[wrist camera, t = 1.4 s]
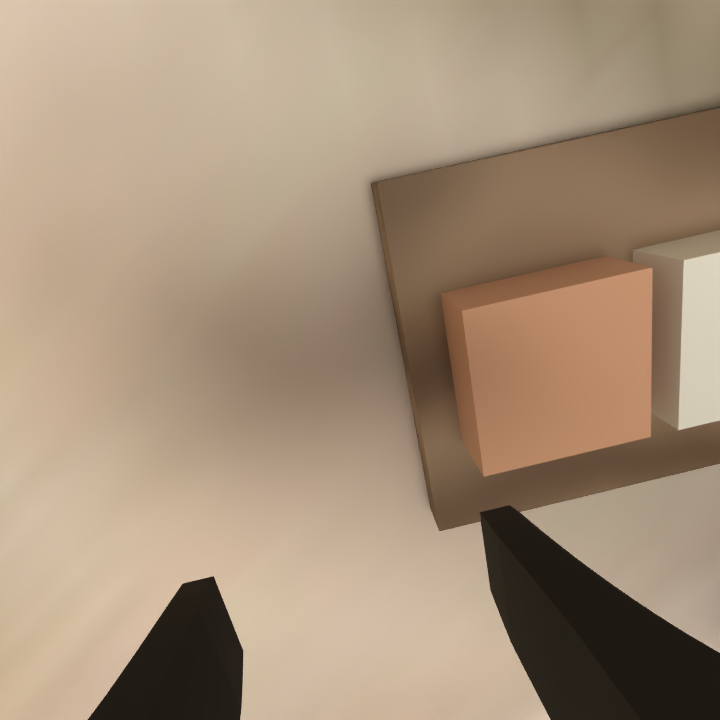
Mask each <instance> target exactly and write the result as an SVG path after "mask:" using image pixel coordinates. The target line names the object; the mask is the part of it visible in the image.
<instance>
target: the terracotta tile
mask: <svg viewBox="0 0 720 720" xmlns="http://www.w3.org/2000/svg"><path fill="white" fill-rule="evenodd" d="M440 294H441V301H442V308H443V315H444V321H445V328H446V335H447V342H448V349H449V356H450V362H451V369H452V376H453V383H454V390H455V396H456V403H457V410H458V417H459V424H460V430H461V437H462V442H463V443H464V445H465V447H466V448H467V450H468V452H469V453H470V455H471V456H472V458H473V460H474V461H475V463H476V465H477V466H478V468H479V470H480V471H481V473H482V474H483V476H484V477H485V476H489V475H493V474H497V473H501V472H506V471H510V470H514V469H518V468H522V467H527V466H531V465H535V464H539V463H543V462H548V461H552V460H556V459H560V458H564V457H569V456H573V455H577V454H581V453H585V452H589V451H594V450H598V449H602V448H606V447H610V446H615V445H619V444H623V443H627V442H631V441H636V440H640V439H644V438H648V437H651V369H652V267H649V266H644V265H640V264H636V263H632V262H628V261H624V260H620V259H616V258H612V257H608V256H603V257H599V258H595V259H590V260H586V261H581V262H577V263H572V264H568V265H564V266H559V267H555V268H550V269H546V270H541V271H537V272H533V273H528V274H524V275H519V276H515V277H511V278H506V279H502V280H497V281H493V282H488V283H484V284H480V285H475V286H471V287H466V288H462V289H457V290H453V291H449V292H444V293H440Z"/></svg>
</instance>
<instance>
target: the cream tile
mask: <svg viewBox="0 0 720 720" xmlns="http://www.w3.org/2000/svg"><path fill="white" fill-rule="evenodd" d="M633 263H636V264H640V265H644V266H649V267H652V369H651V413H653V414H654V415H656V416H657V417H659V418H660V419H662V420H663V421H665V422H667V423H668V424H670V425H671V426H673V427H674V428H676V429H677V430H682V429H686V428H690V427H694V426H698V425H703V424H707V423H711V422H715V421H719V420H720V230H718V231H714V232H710V233H705V234H701V235H696V236H692V237H687V238H683V239H679V240H674V241H670V242H665V243H661V244H657V245H652V246H648V247H643V248H639V249H634V250H633Z"/></svg>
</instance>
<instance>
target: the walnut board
mask: <svg viewBox="0 0 720 720" xmlns="http://www.w3.org/2000/svg"><path fill="white" fill-rule="evenodd" d="M371 185H372V191H373V196H374V202H375V207H376V213H377V218H378V224H379V229H380V235H381V240H382V245H383V251H384V256H385V262H386V267H387V273H388V278H389V284H390V289H391V295H392V300H393V306H394V311H395V316H396V322H397V327H398V333H399V338H400V344H401V349H402V355H403V360H404V366H405V371H406V377H407V382H408V387H409V393H410V398H411V404H412V409H413V415H414V420H415V426H416V431H417V437H418V442H419V447H420V453H421V458H422V464H423V469H424V475H425V480H426V486H427V491H428V497H429V502H430V508H431V511H432V513H433V516H434V519H435V521H436V524H437V526H438V529H439V531H442V530H446V529H451V528H455V527H459V526H463V525H467V524H471V523H475V522H480V521H481V518H480V512H483V511H487V510H491V509H495V508H499V507H504V506H508V505H510V506H512V507H513V508H515V509H516V510H517V511H519V512H521V511H525V510H529V509H533V508H538V507H542V506H546V505H550V504H554V503H558V502H562V501H567V500H571V499H575V498H579V497H583V496H587V495H591V494H596V493H600V492H604V491H608V490H612V489H616V488H620V487H625V486H629V485H633V484H637V483H641V482H645V481H649V480H654V479H658V478H662V477H666V476H670V475H674V474H678V473H683V472H687V471H691V470H695V469H699V468H703V467H707V466H712V465H716V464H720V420H719V421H715V422H711V423H707V424H703V425H698V426H694V427H690V428H686V429H682V430H677V429H676V428H674V427H673V426H671V425H670V424H668V423H667V422H665V421H663V420H662V419H660V418H659V417H657V416H656V415H654V414H653V413H651V437H648V438H644V439H640V440H636V441H631V442H627V443H623V444H619V445H615V446H610V447H606V448H602V449H598V450H594V451H589V452H585V453H581V454H577V455H573V456H569V457H564V458H560V459H556V460H552V461H548V462H543V463H539V464H535V465H531V466H527V467H522V468H518V469H514V470H510V471H506V472H501V473H497V474H493V475H489V476H485V477H484V476H483V474H482V473H481V471H480V470H479V468H478V466H477V465H476V463H475V461H474V460H473V458H472V456H471V455H470V453H469V452H468V450H467V448H466V447H465V445H464V443H463V442H462V437H461V430H460V424H459V417H458V410H457V403H456V396H455V390H454V383H453V376H452V369H451V362H450V356H449V349H448V342H447V335H446V328H445V321H444V315H443V308H442V301H441V294H440V293H444V292H449V291H453V290H457V289H462V288H466V287H471V286H475V285H480V284H484V283H488V282H493V281H497V280H502V279H506V278H511V277H515V276H519V275H524V274H528V273H533V272H537V271H541V270H546V269H550V268H555V267H559V266H564V265H568V264H572V263H577V262H581V261H586V260H590V259H595V258H599V257H603V256H608V257H612V258H616V259H620V260H624V261H628V262H632V263H633V250H634V249H639V248H643V247H648V246H652V245H657V244H661V243H665V242H670V241H674V240H679V239H683V238H687V237H692V236H696V235H701V234H705V233H710V232H714V231H718V230H720V107H717V108H712V109H708V110H703V111H699V112H694V113H690V114H685V115H680V116H676V117H671V118H667V119H662V120H657V121H653V122H648V123H644V124H639V125H634V126H630V127H625V128H621V129H616V130H612V131H607V132H602V133H598V134H593V135H589V136H584V137H579V138H575V139H570V140H566V141H561V142H556V143H552V144H547V145H543V146H538V147H534V148H529V149H524V150H520V151H515V152H511V153H506V154H501V155H497V156H492V157H488V158H483V159H478V160H474V161H469V162H465V163H460V164H455V165H451V166H446V167H442V168H437V169H433V170H428V171H423V172H419V173H414V174H410V175H405V176H400V177H396V178H391V179H387V180H382V181H377V182H373V183H371Z"/></svg>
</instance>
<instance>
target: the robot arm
mask: <svg viewBox="0 0 720 720" xmlns="http://www.w3.org/2000/svg"><path fill="white" fill-rule="evenodd" d="M480 518H481V525H482V532H483V539H484V546H485V553H486V561H487V568H488V575H489V582H490V589H491V592H492V595H493V598H494V600H495V603H496V605H497V608H498V611H499V613H500V616H501V618H502V621H503V623H504V626H505V628H506V631H507V633H508V636H509V638H510V641H511V643H512V645H513V647H514V649H515V651H516V653H517V655H518V657H519V659H520V661H521V663H522V665H523V667H524V669H525V671H526V673H527V675H528V676H529V678H530V680H531V682H532V684H533V686H534V688H535V690H536V692H537V694H538V696H539V698H540V700H541V702H542V704H543V706H544V708H545V709H546V711H547V713H548V715H549V717H550V719H551V720H720V653H719V652H717V651H715V650H713V649H712V648H710V647H708V646H707V645H705V644H703V643H702V642H700V641H698V640H696V639H695V638H693V637H691V636H690V635H688V634H686V633H685V632H683V631H682V630H680V629H678V628H677V627H675V626H673V625H672V624H670V623H669V622H667V621H666V620H664V619H662V618H661V617H659V616H658V615H656V614H655V613H653V612H652V611H650V610H649V609H647V608H646V607H644V606H643V605H641V604H640V603H638V602H637V601H635V600H634V599H632V598H631V597H629V596H628V595H626V594H625V593H623V592H622V591H621V590H619V589H618V588H616V587H615V586H613V585H612V584H611V583H609V582H608V581H606V580H605V579H604V578H602V577H601V576H600V575H598V574H597V573H596V572H594V571H593V570H591V569H590V568H589V567H587V566H586V565H585V564H583V563H582V562H581V561H579V560H578V559H577V558H575V557H574V556H573V555H571V554H570V553H569V552H568V551H566V550H565V549H564V548H562V547H561V546H560V545H559V544H557V543H556V542H555V541H554V540H552V539H551V538H550V537H549V536H547V535H546V534H545V533H544V532H542V531H541V530H540V529H539V528H538V527H536V526H535V525H534V524H533V523H532V522H530V521H529V520H528V519H527V518H526V517H524V516H523V515H522V514H521V513H520V512H519V511H517V510H516V509H515V508H513V507H512V506H510V505H508V506H504V507H499V508H495V509H491V510H487V511H483V512H480ZM242 681H243V649H242V647H241V644H240V642H239V639H238V637H237V634H236V632H235V629H234V627H233V624H232V622H231V619H230V617H229V614H228V612H227V609H226V607H225V604H224V602H223V599H222V597H221V594H220V591H219V589H218V586H217V584H216V581H215V579H214V576H213V577H209V578H205V579H200V580H196V581H192V582H188V583H184V584H182V586H181V587H180V588H179V590H178V591H177V593H176V594H175V596H174V597H173V599H172V600H171V602H170V603H169V604H168V606H167V607H166V609H165V610H164V612H163V613H162V615H161V616H160V618H159V619H158V621H157V622H156V624H155V625H154V627H153V628H152V630H151V631H150V633H149V634H148V635H147V637H146V638H145V640H144V641H143V643H142V644H141V646H140V647H139V649H138V650H137V652H136V653H135V655H134V656H133V657H132V659H131V660H130V662H129V663H128V665H127V666H126V667H125V669H124V670H123V672H122V673H121V675H120V676H119V677H118V679H117V680H116V682H115V683H114V685H113V686H112V687H111V689H110V690H109V692H108V693H107V695H106V696H105V697H104V699H103V700H102V701H101V703H100V704H99V705H98V707H97V708H96V709H95V711H94V712H93V713H92V715H91V716H90V717H89V719H88V720H240V715H241V703H242Z"/></svg>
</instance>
